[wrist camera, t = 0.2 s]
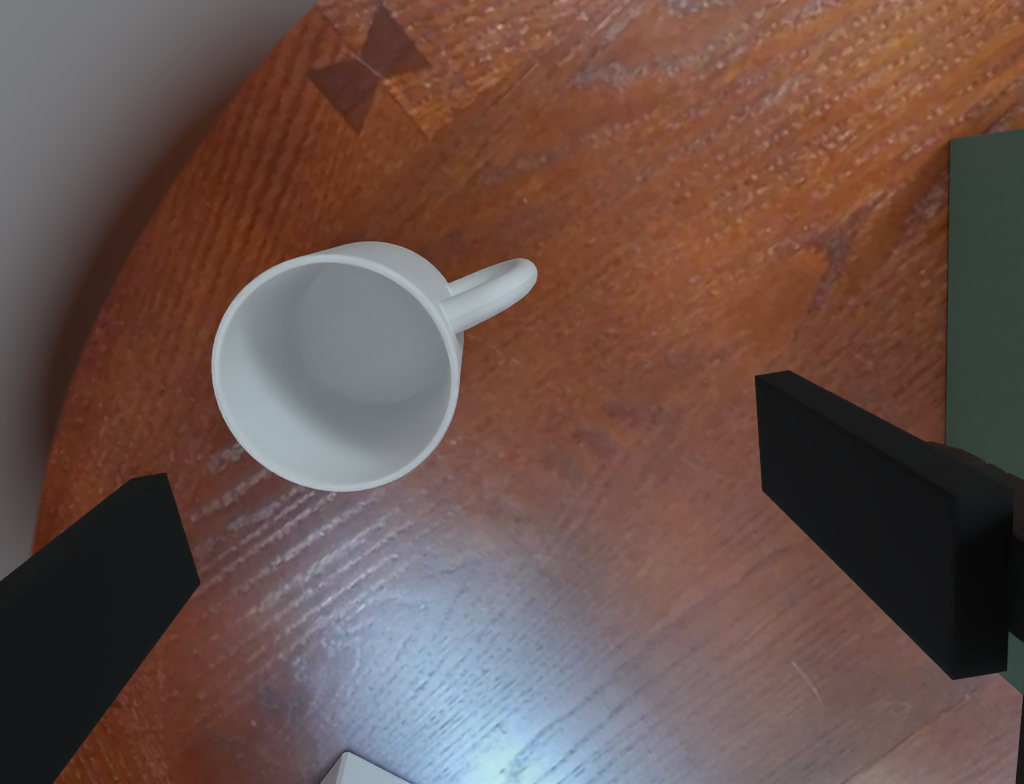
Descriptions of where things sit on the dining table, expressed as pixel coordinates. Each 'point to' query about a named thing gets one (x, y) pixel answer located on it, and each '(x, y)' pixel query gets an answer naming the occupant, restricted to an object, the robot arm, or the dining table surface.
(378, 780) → the gable box
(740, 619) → the dining table surface
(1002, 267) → the green box
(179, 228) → the dining table surface
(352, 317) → the cup
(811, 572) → the dining table surface
